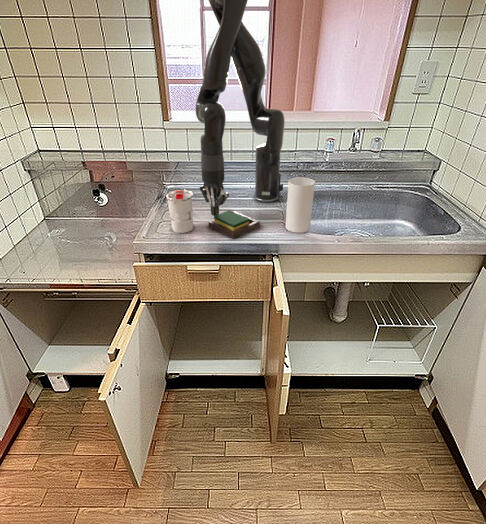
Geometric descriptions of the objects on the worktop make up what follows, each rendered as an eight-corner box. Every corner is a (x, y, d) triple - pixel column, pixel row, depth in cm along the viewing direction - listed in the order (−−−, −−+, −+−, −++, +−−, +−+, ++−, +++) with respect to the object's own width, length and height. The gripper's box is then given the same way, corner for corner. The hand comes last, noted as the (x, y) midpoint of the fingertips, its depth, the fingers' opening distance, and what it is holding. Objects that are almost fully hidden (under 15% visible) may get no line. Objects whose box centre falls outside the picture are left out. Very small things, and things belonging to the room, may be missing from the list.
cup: (309, 233, 115) (315, 186, 107) (284, 231, 117) (287, 185, 108) (310, 222, 122) (315, 177, 114) (286, 221, 124) (289, 176, 115)
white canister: (190, 236, 115) (187, 201, 108) (165, 233, 116) (161, 199, 110) (199, 223, 123) (196, 190, 117) (176, 221, 124) (172, 188, 118)
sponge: (229, 218, 126) (229, 210, 124) (249, 227, 119) (249, 218, 118) (214, 225, 122) (213, 215, 120) (233, 234, 115) (233, 225, 114)
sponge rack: (235, 216, 127) (234, 211, 126) (259, 226, 120) (259, 221, 119) (208, 227, 120) (208, 221, 119) (233, 239, 113) (233, 233, 112)
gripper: (234, 168, 115) (235, 217, 124) (208, 160, 122) (210, 206, 132) (217, 173, 110) (219, 224, 119) (191, 165, 118) (195, 212, 127)
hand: (215, 214), depth 125 cm, fingers closed
